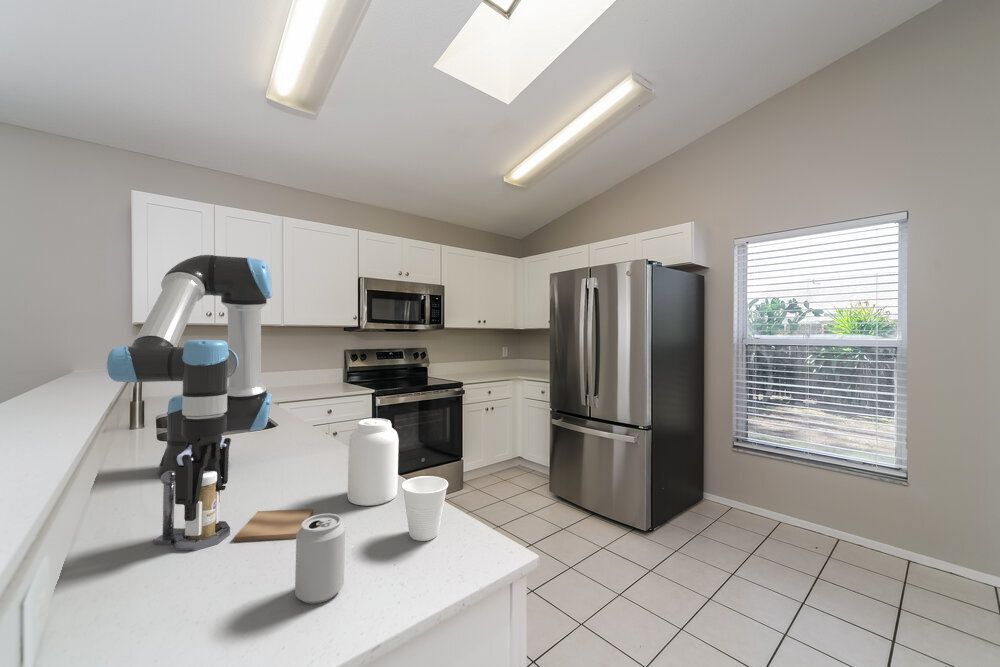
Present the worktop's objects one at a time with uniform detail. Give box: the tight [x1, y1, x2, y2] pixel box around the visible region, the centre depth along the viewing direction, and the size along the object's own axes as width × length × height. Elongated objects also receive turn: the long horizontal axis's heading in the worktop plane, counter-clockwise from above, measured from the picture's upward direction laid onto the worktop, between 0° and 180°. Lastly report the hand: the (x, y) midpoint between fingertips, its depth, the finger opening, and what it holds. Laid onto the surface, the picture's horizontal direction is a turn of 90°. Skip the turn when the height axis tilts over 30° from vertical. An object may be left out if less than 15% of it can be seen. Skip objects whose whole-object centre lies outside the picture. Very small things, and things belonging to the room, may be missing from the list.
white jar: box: [347, 417, 400, 507], centre depth 107 cm, size 12×12×20 cm
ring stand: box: [152, 471, 231, 552], centre depth 84 cm, size 9×13×14 cm
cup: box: [401, 475, 449, 542], centre depth 88 cm, size 10×10×11 cm
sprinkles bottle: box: [188, 471, 217, 539], centre depth 84 cm, size 5×5×13 cm
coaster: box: [233, 508, 314, 543], centre depth 90 cm, size 12×12×1 cm
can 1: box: [294, 513, 346, 605], centre depth 68 cm, size 8×8×12 cm
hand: (202, 528), depth 84 cm, fingers closed on sprinkles bottle, 4 cm apart
